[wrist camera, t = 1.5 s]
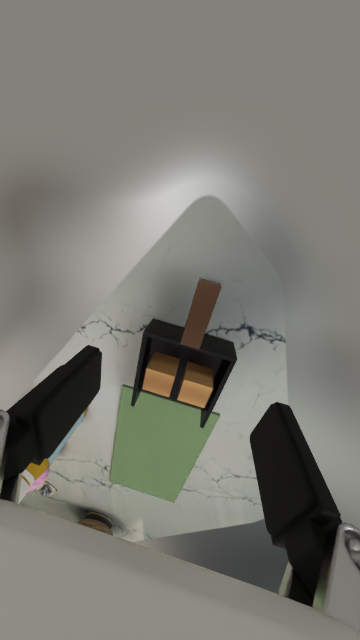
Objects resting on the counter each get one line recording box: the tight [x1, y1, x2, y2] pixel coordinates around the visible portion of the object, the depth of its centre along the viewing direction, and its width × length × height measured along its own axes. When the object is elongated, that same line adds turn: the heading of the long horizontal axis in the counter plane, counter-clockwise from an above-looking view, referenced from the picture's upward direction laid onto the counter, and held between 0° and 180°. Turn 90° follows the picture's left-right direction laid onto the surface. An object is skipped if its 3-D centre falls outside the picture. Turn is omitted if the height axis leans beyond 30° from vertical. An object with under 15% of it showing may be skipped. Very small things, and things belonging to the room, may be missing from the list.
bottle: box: [18, 410, 86, 504], centre depth 30 cm, size 7×7×15 cm
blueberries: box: [36, 481, 56, 497], centre depth 56 cm, size 7×8×2 cm
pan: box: [131, 278, 237, 428], centre depth 25 cm, size 22×12×4 cm, turn 165°
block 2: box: [177, 361, 213, 408], centre depth 26 cm, size 4×4×4 cm
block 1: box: [142, 352, 180, 397], centre depth 26 cm, size 4×4×4 cm
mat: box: [110, 385, 220, 503], centre depth 39 cm, size 36×18×1 cm, turn 165°
